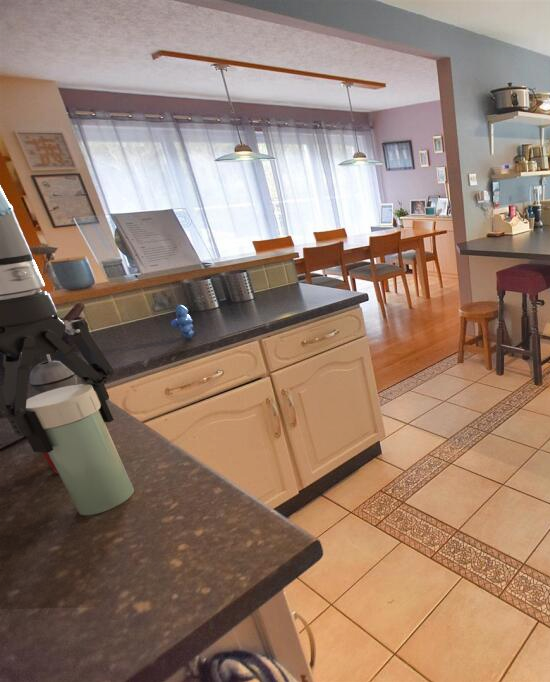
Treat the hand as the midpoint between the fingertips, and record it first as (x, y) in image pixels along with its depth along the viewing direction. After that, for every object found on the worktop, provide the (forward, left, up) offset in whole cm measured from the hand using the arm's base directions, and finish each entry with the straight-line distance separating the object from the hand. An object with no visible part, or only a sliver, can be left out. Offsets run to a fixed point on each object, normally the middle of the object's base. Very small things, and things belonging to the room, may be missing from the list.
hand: (76, 434), depth 69 cm
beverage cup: (-33, +27, -13) cm, 45 cm away
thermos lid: (0, 0, +3) cm, 3 cm away
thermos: (0, 0, -13) cm, 13 cm away
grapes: (-53, +89, -13) cm, 104 cm away
